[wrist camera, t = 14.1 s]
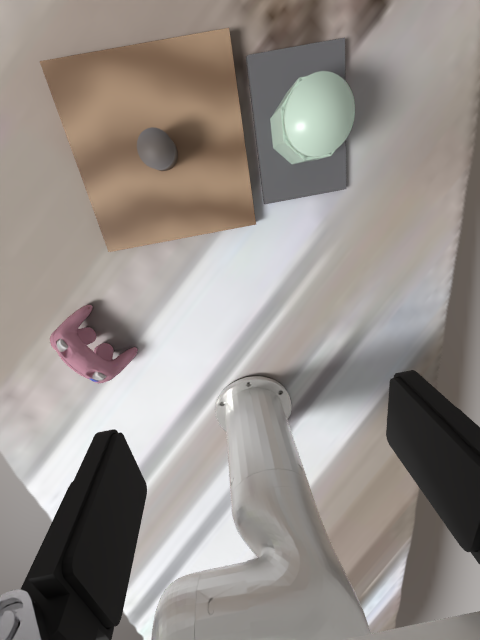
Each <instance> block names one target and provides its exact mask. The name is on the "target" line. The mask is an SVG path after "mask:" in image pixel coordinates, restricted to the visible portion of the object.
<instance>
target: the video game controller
mask: <svg viewBox="0 0 480 640" xmlns="http://www.w3.org/2000/svg"><path fill="white" fill-rule="evenodd" d="M91 311H92V305H86V306H83V307H82V308H80V309H78V310H77V311H76V312H74V313H73V314H72V315H71V316H69V317H68V318H67V319H66V320H65V321H64V322H63V323H62V324H61V325H60V326H59V327H58V328H57V329H56V330H55V331H54V332H53V333H52V334H51V336H50V343H51V346H52V347H53V348H54V349H55V350H56V351H57V353H58V355H59V356H60V357H61V359H62V360H63V361H64V362H65V363H66V364H67V365H68V366H69V367H70V368H71V369H73V370H74V371H75V372H77V373H78V374H80V375H82V376H84V377H85V378H88V379H90V380H92V381H93V382H96V383H104V382H106V381H109V380H111V379H113V378H114V377H115V376H116V375H118V374H119V373H120V372H121V371H122V370H123V369H124V368H125V367H126V366H127V365H128V364H129V363H130V362H131V361H132V359H133V358H134V357H135V356H136V354H137V351H138V349H137V348H136V347H133V348H131V349H129V350H127V351H125V352H124V353H122V354H121V355H119V356H118V357H117V358H116V359H114V360H113V359H112V357H113V347H112V346H111V345H110V344H107V343H102V344H100V345H99V346H97V347H96V348H95V350H94V352H93V351H92V350H91V349H90V348H89V347H88V346H86V345H88V344H90V343H92V342H94V341H95V339H96V333H95V331H94V330H93V329H92V328H89V327H86V328H82V329H78V327H79V326H80V325H81V323H82V322H83V321H84V320H85V319H86V318H87V317H88V316H89V314H90V312H91Z"/></svg>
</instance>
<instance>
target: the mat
mask: <svg viewBox="0 0 480 640" xmlns="http://www.w3.org/2000/svg"><path fill="white" fill-rule="evenodd" d="M246 62H247V70H248V78H249V86H250V94H251V102H252V111H253V119H254V127H255V135H256V143H257V151H258V159H259V168H260V176H261V184H262V192H263V200H264V204H269V203H274V202H280V201H285V200H290V199H296V198H301V197H306V196H312V195H317V194H322V193H328V192H333V191H338V190H344V189H346V140H345V141H344V142H343V143H342V145H341V146H340V147H339V148H337V149H336V150H335V151H334V153H333V154H332V156H329V157H325V158H321V159H317V160H312V161H306V162H301V163H296V164H291V163H290V162H288V161H287V160H286V159H285V158H284V157H283V156H282V155H281V154H279V153H278V152H277V151H276V150H275V149H274V148H273V142H272V132H271V122H270V118H271V117H272V116H273V114H274V112H275V111H276V109H277V108H278V106H279V104H280V103H281V101H282V100H283V98H284V96H285V95H286V93H287V92H288V91H289V89H290V88H291V87H292V86H293V85H294V83H295V82H296V81H297V80H298V78H299V77H306V76H308V75H310V74H313V73H315V72H319V71H329V72H333V73H335V74H337V75H339V76H340V77H342V78H343V79H344V80H345V38H341V39H335V40H329V41H324V42H318V43H313V44H307V45H301V46H296V47H290V48H285V49H279V50H273V51H268V52H262V53H257V54H251V55H247V57H246Z"/></svg>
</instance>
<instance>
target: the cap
mask: <svg viewBox="0 0 480 640" xmlns="http://www.w3.org/2000/svg"><path fill="white" fill-rule="evenodd" d="M354 116H355V102H354V97H353V94H352V91H351V89H350V87H349V86H348V84H347V83H346V81H345V80H344V79H343V78H342V77H340V76H339V75H337V74H335V73H333V72H329V71H319V72H315V73H313V74H310V75H308V76H306V77H299V78H298V80H297V81H296V82H295V83H294V85H293V86H292V87H291V88H290V89H289V91H288V92H287V93H286V95H285V96H284V98H283V100H282V101H281V103H280V104H279V106H278V108H277V109H276V111H275V112H274V114H273V116H272V117H271V118H270V122H271V132H272V142H273V148H274V149H275V150H276V151H277V152H278V153H279V154H281V155H282V156H283V157H284V158H285V159H286V160H287V161H288V162H290V163H291V164H296V163H301V162H306V161H312V160H317V159H321V158H325V157H329V156H332V154H333V153H334V151H335V150H336V149H337V148H339V147H340V146H341V145H342V143H343V142H344V141H345V140H346V138H347V137H348V135H349V133H350V131H351V128H352V126H353V122H354Z"/></svg>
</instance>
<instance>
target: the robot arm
mask: <svg viewBox="0 0 480 640" xmlns="http://www.w3.org/2000/svg"><path fill="white" fill-rule="evenodd" d="M215 412H216V419H217V422H218V424H219V425H220V427H221V428H222V429H223V430H224V431H225V432H226V433H227V448H228V462H229V477H230V491H231V507H232V516H233V520H234V523H235V526H236V528H237V531H238V533H239V534H240V536H241V537H242V539H243V541H244V542H245V543H246V544H247V546H248V547H249V548H250V549H251V550H252V552H253V553H254V554H255V555H256V556H257V557H258V558H256V559H252V560H248V561H247V562H243V563H238V564H233V565H229V566H224V567H219V568H214V569H209V570H205V571H201V572H196V573H192V574H189V575H185V576H183V577H181V578H179V579H177V580H175V581H174V582H173V583H171V584H170V585H169V586H168V587H167V589H166V590H165V591H164V593H163V595H162V596H161V598H160V601H159V603H158V606H157V609H156V613H155V617H154V622H153V629H152V639H151V640H480V611H479V612H474V613H469V614H464V615H460V616H454V617H450V618H444V619H440V620H435V621H430V622H425V623H421V624H416V625H411V626H406V627H401V628H396V629H391V630H387V631H382V632H377V633H372V634H371V633H370V629H369V626H368V623H367V620H366V617H365V614H364V612H363V609H362V607H361V605H360V602H359V600H358V598H357V596H356V593H355V591H354V589H353V587H352V585H351V583H350V581H349V579H348V577H347V575H346V573H345V571H344V569H343V567H342V565H341V563H340V561H339V559H338V557H337V555H336V553H335V551H334V549H333V546H332V544H331V542H330V540H329V537H328V535H327V533H326V530H325V528H324V525H323V523H322V520H321V518H320V515H319V512H318V509H317V507H316V504H315V501H314V498H313V495H312V492H311V489H310V486H309V483H308V480H307V477H306V474H305V471H304V468H303V465H302V462H301V459H300V456H299V453H298V450H297V447H296V444H295V441H294V438H293V435H292V432H291V429H290V426H289V424H288V421H287V420H288V418H289V416H290V413H291V400H290V397H289V394H288V392H287V390H286V389H285V388H284V387H283V386H282V385H281V384H280V383H279V382H277V381H275V380H273V379H270V378H267V377H261V376H252V377H246V378H242V379H239V380H237V381H235V382H233V383H231V384H230V385H229V386H227V387H226V388H225V389H224V390H223V391H222V392H221V394H220V395H219V397H218V399H217V402H216V408H215ZM386 436H387V440H388V443H389V445H390V446H391V448H392V449H393V450H394V452H395V453H396V455H397V456H398V458H399V459H400V460H401V462H402V463H403V465H404V466H405V468H406V469H407V470H408V472H409V473H410V475H411V476H412V478H413V479H414V480H415V482H416V483H417V485H418V486H419V488H420V489H421V490H422V492H423V493H424V495H425V496H426V498H427V499H428V500H429V502H430V503H431V505H432V506H433V508H434V509H435V510H436V512H437V513H438V515H439V516H440V518H441V519H442V520H443V522H444V523H445V524H446V526H447V528H448V529H449V530H450V532H451V533H452V535H453V536H454V538H455V539H456V540H457V542H458V543H459V545H460V546H461V547H462V548H463V549H464V550H465V551H467V552H471V553H472V555H473V556H474V558H475V559H476V560H477V562H478V563H479V564H480V427H479V426H478V425H476V424H475V423H474V422H473V421H472V420H471V419H470V418H469V417H467V416H466V415H465V414H464V413H463V412H462V411H461V410H460V409H458V408H457V407H455V406H454V405H453V404H452V403H451V402H450V401H448V400H447V399H446V398H445V397H444V396H443V395H442V394H441V393H440V392H438V391H437V390H436V389H435V388H434V387H433V386H432V385H431V384H429V383H428V382H427V381H426V380H425V379H424V378H423V377H422V376H420V375H419V374H418V373H417V372H416V371H413V370H411V371H406V372H401V373H396V374H395V375H394V378H393V379H391V380H390V387H389V402H388V416H387V431H386ZM146 495H147V486H146V482H145V480H144V478H143V476H142V474H141V472H140V470H139V467H138V465H137V463H136V461H135V459H134V457H133V455H132V452H131V450H130V448H129V446H128V444H127V442H126V440H125V437H124V435H123V434H122V433H118V432H117V430H109V431H103V432H98V433H97V434H96V435H95V436H94V438H93V440H92V442H91V444H90V447H89V449H88V451H87V453H86V455H85V457H84V460H83V462H82V464H81V466H80V468H79V470H78V473H77V475H76V477H75V479H74V481H73V482H72V483H71V484H70V486H69V488H68V490H67V492H66V494H65V496H64V498H63V500H62V502H61V505H60V507H59V509H58V511H57V513H56V515H55V517H54V519H53V522H52V524H51V526H50V528H49V530H48V533H47V534H46V537H45V539H44V541H43V543H42V545H41V547H40V549H39V551H38V554H37V556H36V558H35V560H34V562H33V564H32V566H31V568H30V571H29V573H28V575H27V577H26V579H25V581H24V583H23V585H22V588H21V589H19V590H11V591H9V592H7V593H5V594H2V595H0V640H111V639H112V634H113V630H114V626H117V625H118V624H119V622H120V620H121V616H122V612H123V607H124V602H125V597H126V592H127V588H128V583H129V578H130V573H131V568H132V563H133V558H134V553H135V549H136V544H137V539H138V534H139V529H140V524H141V519H142V515H143V510H144V505H145V500H146Z"/></svg>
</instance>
